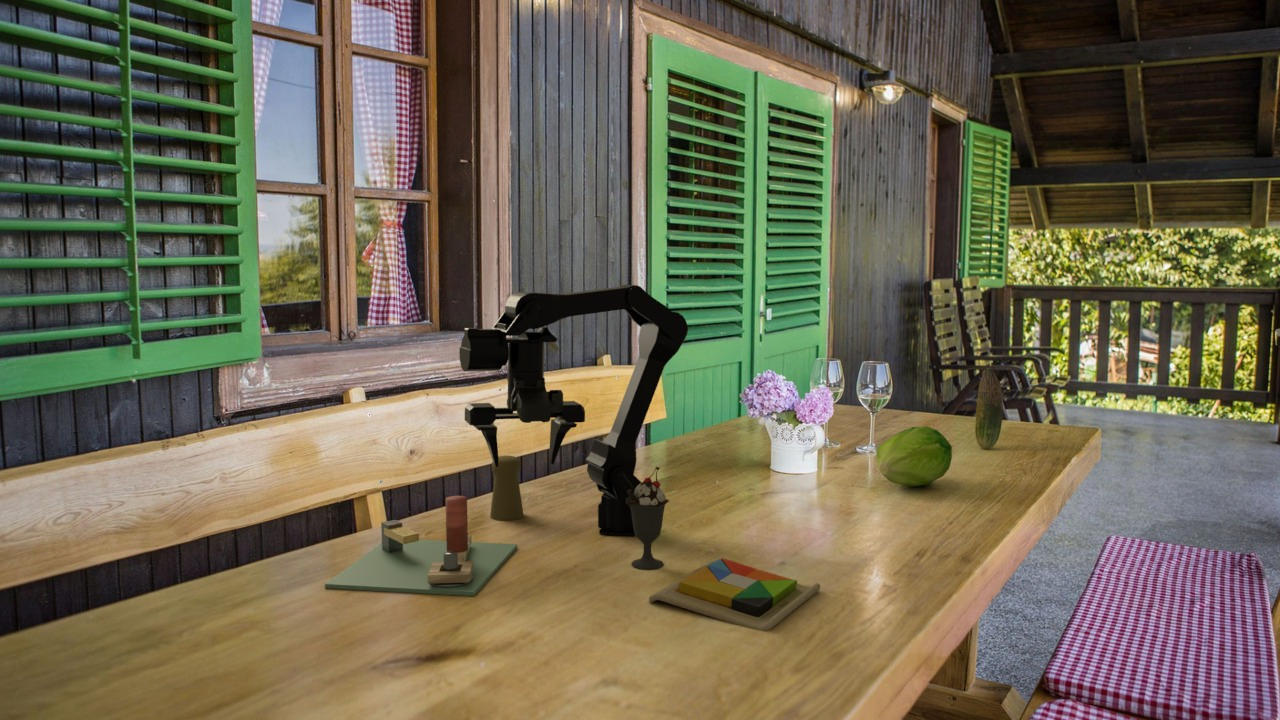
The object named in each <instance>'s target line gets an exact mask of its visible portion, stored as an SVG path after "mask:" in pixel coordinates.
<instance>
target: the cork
mask: <svg viewBox="0 0 1280 720" xmlns="http://www.w3.org/2000/svg"><path fill="white" fill-rule="evenodd" d="M498 458H499V460H498V467H495V466H494V463H493V461H491V472H492V473H493V474H494V479H493V487H492V496H491V499H492V500H491V506H490V514H489V515H490V516H489V517H490V518H491V519H493V520H496V521H505V522H506V521H507V522H508V521H516V520H519V519H521V518H523V517H524V516H525V515H524V509H523V502H522V494H521V489H520V482H519V473H520V471H521V467H522V466H521V464H522V463H521V461H520V460H519V458H518V457H516V456H515V455H500V456H499V455H498Z"/></svg>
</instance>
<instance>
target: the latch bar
mask: <svg viewBox="0 0 1280 720" xmlns="http://www.w3.org/2000/svg"><path fill="white" fill-rule="evenodd" d="M445 528H446V529H445V530H446V531H445V532H446V534H445V537H446V540H445V541H447V551H456V552H458V571H445V572H444V562H433V563H432V566H431V568H430V571H429V573H428V583H466V582H470V579H471V575H472V572H473V561H466V558H467V555H468V552H469V548H470V545H471V542H472V534H471V533H469V531H468V529H469V527H468V496H464V495H451V496H448V497H446V498H445ZM468 533H469V534H468Z"/></svg>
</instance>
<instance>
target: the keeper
mask: <svg viewBox="0 0 1280 720" xmlns="http://www.w3.org/2000/svg"><path fill="white" fill-rule="evenodd" d="M380 523H381V525H380V526H381V543H382V550H384V551H386V552H388V553H391V552H396V551H400V550H403V544H407V543H412V542H416V541H419V540H420V533H418V532H417V531H414V530H412V529H411V528H408V527H406V526H405V525H403V522H401V521H400V520H397V519H393V520H392V519H391V520H387V521H386V520H385V521H382V522H380Z"/></svg>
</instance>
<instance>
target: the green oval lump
mask: <svg viewBox="0 0 1280 720" xmlns="http://www.w3.org/2000/svg"><path fill="white" fill-rule="evenodd" d="M952 448H953V447H952V445H951V443H950V442H949V441H948V440H947V438H946V437H945V436H944V435H943V434H942V433H941V432H940V431H939V430H938V429H935V428H933V427H931V426H914V427H910V428H907V429H904V430H902V431H900V432H898V433H897V434H895V435H893V436H892V437H890V438H888V439H887V440H885V441H884V442H883V443H882V444H879V446H877V448H876V455H875V459H876V464H877V465H876V466H877V468H878V471H879V473H880V474H881V475H883V477H884V478H886V479H887V480H888V481H889V482H890V483H893V484H898V485H902V486H906V487H920V486H926V485H930V484H932V483H933V482H935V481H936V480H938V479H941V478H942V477H943V476H945V475H946V473H947V472H948V470H949V469H950V468H951V463H952V455H953V451H952V450H953V449H952Z"/></svg>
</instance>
